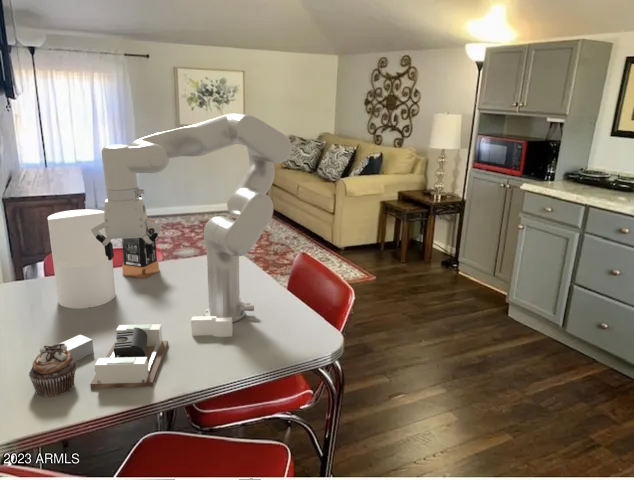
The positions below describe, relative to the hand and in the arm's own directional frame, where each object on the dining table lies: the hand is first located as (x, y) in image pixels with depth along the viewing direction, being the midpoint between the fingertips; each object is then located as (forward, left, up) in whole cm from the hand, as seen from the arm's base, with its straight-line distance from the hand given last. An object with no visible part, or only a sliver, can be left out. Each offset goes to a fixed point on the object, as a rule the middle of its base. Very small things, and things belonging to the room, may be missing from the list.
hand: (130, 257), depth 129 cm
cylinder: (+23, -30, -25) cm, 45 cm away
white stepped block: (-21, -2, -25) cm, 33 cm away
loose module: (+14, +8, -25) cm, 29 cm away
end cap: (-2, +13, -23) cm, 27 cm away
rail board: (-2, +13, -24) cm, 28 cm away
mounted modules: (-2, +13, -23) cm, 27 cm away
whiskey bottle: (+11, -53, -25) cm, 59 cm away
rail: (-2, +13, -23) cm, 27 cm away
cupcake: (+13, +22, -25) cm, 35 cm away
